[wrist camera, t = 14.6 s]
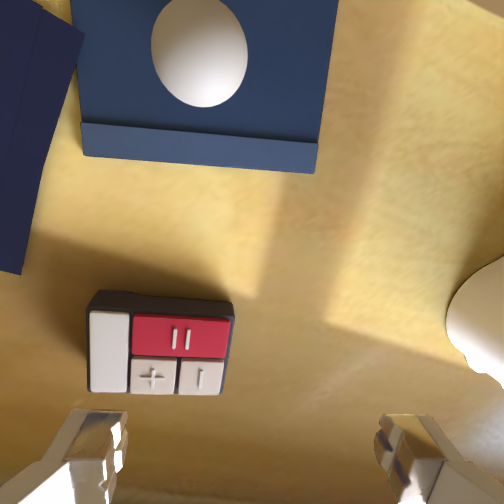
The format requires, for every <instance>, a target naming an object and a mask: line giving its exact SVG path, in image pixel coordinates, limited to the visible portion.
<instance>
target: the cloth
mask: <svg viewBox="0 0 504 504" xmlns="http://www.w3.org/2000/svg"><path fill="white" fill-rule="evenodd" d="M171 1H172V0H70V3H71V14H72V24H73V27H74V28H76V29H78V30H79V31H81V32H83V33H85V37H84V40H83V43H82V46H81V49H80V53H79V56H78V59H77V62H76V66H77V77H78V87H79V97H80V108H81V118H82V122H80V124H81V134H82V144H83V155H85V156H91V157H104V158H117V159H130V160H142V161H155V162H168V163H181V164H193V165H206V166H219V167H231V168H244V169H257V170H270V171H282V172H295V173H308V174H313V173H314V172H315V165H316V158H317V151H318V138H319V131H320V124H321V117H322V111H323V104H324V97H325V90H326V83H327V76H328V69H329V63H330V56H331V49H332V42H333V35H334V28H335V21H336V15H337V8H338V1H339V0H219V1H220V2H222V3H223V4H224V5H226V6H227V7H228V8H229V9H230V11H231V12H232V13H233V14H234V15H235V17H236V18H237V20H238V21H239V23H240V25H241V28H242V30H243V32H244V35H245V39H246V43H247V52H248V59H247V68H246V71H245V75H244V78H243V80H242V82H241V84H240V86H239V88H238V89H237V90H236V92H235V93H234V94H233V95H232V96H231V97H230V98H229V99H227V100H226V101H224V102H222V103H221V104H218V105H215V106H212V107H197V106H192V105H189V104H186V103H184V102H183V101H181V100H179V99H178V98H176V97H175V96H174V95H173V94H172V93H171V92H169V91H168V89H167V88H166V87H165V86H164V84H163V83H162V82H161V80H160V78H159V76H158V74H157V72H156V69H155V66H154V64H153V59H152V53H151V37H152V32H153V27H154V24H155V22H156V19H157V17H158V16H159V14H160V13H161V11H162V10H163V8H164V7H165V6H166V5H167V4H169V3H170V2H171Z"/></svg>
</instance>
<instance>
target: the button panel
mask: <svg viewBox="0 0 504 504" xmlns="http://www.w3.org/2000/svg"><path fill="white" fill-rule="evenodd" d="M234 321H235V315H234V309H233V304H232V303H231V302H221V301H207V300H193V299H179V298H166V297H152V296H140V295H138V294H135V293H133V292H120V291H107V290H99V291H98V292H97V293H96V294H95V296H94V297H93V299H92V300H91V302H90V303H89V304H88V306H87V307H86V345H87V389H88V391H89V392H94V393H132V394H181V395H218V394H221V393H222V392H223V388H224V382H225V376H226V370H227V364H228V358H229V352H230V346H231V340H232V334H233V328H234Z"/></svg>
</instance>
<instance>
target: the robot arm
mask: <svg viewBox="0 0 504 504" xmlns="http://www.w3.org/2000/svg"><path fill="white" fill-rule="evenodd" d="M446 330H447V334H448V337H449V339H450V341H451V342H452V344H453V345H454V346H455V347H456V348H457V349H459V350H460V351H461V352H462V353H463V354H464V355H465V356H466V360H467V362H468V365H469V366H470V367H471V368H472V369H473V370H475V371H476V372H478V373H485V372H487V373H488V374H489V375H491V376H492V377H493V378H495V379H496V380H497V381H499V382H500V383H501V385H502V386H503V388H504V256H503V257H501V258H500V259H498V260H497V261H495V262H493V263H491V264H489V265H487V266H485V267H483V268H482V269H480V270H479V271H477V272H476V273H475V274H473V275H472V276H471V277H470V278H469V279H468V280H467V281H466V282H465V283H464V284H463V285H462V286H461V287H460V289H459V290H458V291H457V293H456V294H455V296H454V298H453V300H452V301H451V304H450V306H449V309H448V312H447V317H446ZM127 421H128V416H127V411H125V410H103V409H73V410H72V411H71V412H70V413H69V414H68V416H67V418H66V419H65V421H64V423H63V424H62V426H61V428H60V429H59V431H58V433H57V434H56V436H55V438H54V439H53V441H52V443H51V444H50V446H49V448H48V449H47V451H46V453H45V454H44V456H43V458H42V459H41V461H38V462H33V463H32V464H30V465H29V466H28V467H26V468H25V469H24V470H22V471H21V472H20V473H18V474H17V475H16V476H14V477H13V478H12V479H10V480H9V481H8V482H6V483H5V484H4V485H2V486H1V487H0V504H110V502H111V499H112V496H113V493H114V490H115V487H116V484H117V478H116V473H117V472H118V471H119V470H120V469H121V468H122V466H123V463H124V460H125V456H126V451H127V447H128V430H127V429H126V428H125V426H126V423H127ZM379 424H380V426H381V429H380V430H379V431H378V432H377V433H376V435H375V439H374V450H375V454H376V458H377V460H378V462H379V464H380V467H382V468H383V469H384V470H385V471H386V472H387V473H388V474H389V475H388V483H389V485H390V487H391V490H392V492H393V494H394V496H395V498H396V500H397V502H398V504H504V485H503V484H502V483H501V482H499V481H498V480H496V479H495V478H493V477H492V476H490V475H489V474H488V473H486V472H485V471H483V470H482V469H480V468H479V467H478V466H476V465H475V464H473V463H472V462H470V461H465V460H464V459H463V457H462V456H461V455H460V453H459V452H458V451H457V449H456V448H455V447H454V446H453V444H452V443H451V442H450V440H449V439H448V438H447V436H446V435H445V434H444V432H443V431H442V430H441V428H440V427H439V426H438V424H437V423H436V422H435V421H434V419H433V418H432V417H431V416H429V415H428V414H413V415H412V414H383V415H382V416H381V418H380V421H379Z"/></svg>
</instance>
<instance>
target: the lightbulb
mask: <svg viewBox="0 0 504 504" xmlns="http://www.w3.org/2000/svg"><path fill="white" fill-rule="evenodd" d="M151 53H152V59H153V64H154V66H155V69H156V72H157V74H158V76H159V78H160V80H161V82H162V83H163V84H164V86H165V87H166V88H167V89H168V91H169V92H171V93H172V94H173V95H174V96H175V97H176V98H178V99H179V100H181V101H183V102H184V103H186V104H189V105H192V106H197V107H212V106H215V105H218V104H221V103H222V102H224V101H226V100H227V99H229V98H230V97H231V96H232V95H233V94H234V93H235V92H236V90H237V89H238V88H239V86H240V84H241V82H242V80H243V78H244V75H245V71H246V68H247V59H248V52H247V43H246V39H245V35H244V32H243V30H242V28H241V25H240V23H239V21H238V20H237V18H236V17H235V15H234V14H233V13H232V12H231V11H230V9H229V8H228V7H227V6H226V5H224V4H223V3H222V2H220V1H219V0H172V1H171V2H170V3H169V4H167V5H166V6H165V7H164V8H163V10H162V11H161V13H160V14H159V16H158V17H157V19H156V22H155V24H154V27H153V32H152V37H151Z"/></svg>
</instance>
